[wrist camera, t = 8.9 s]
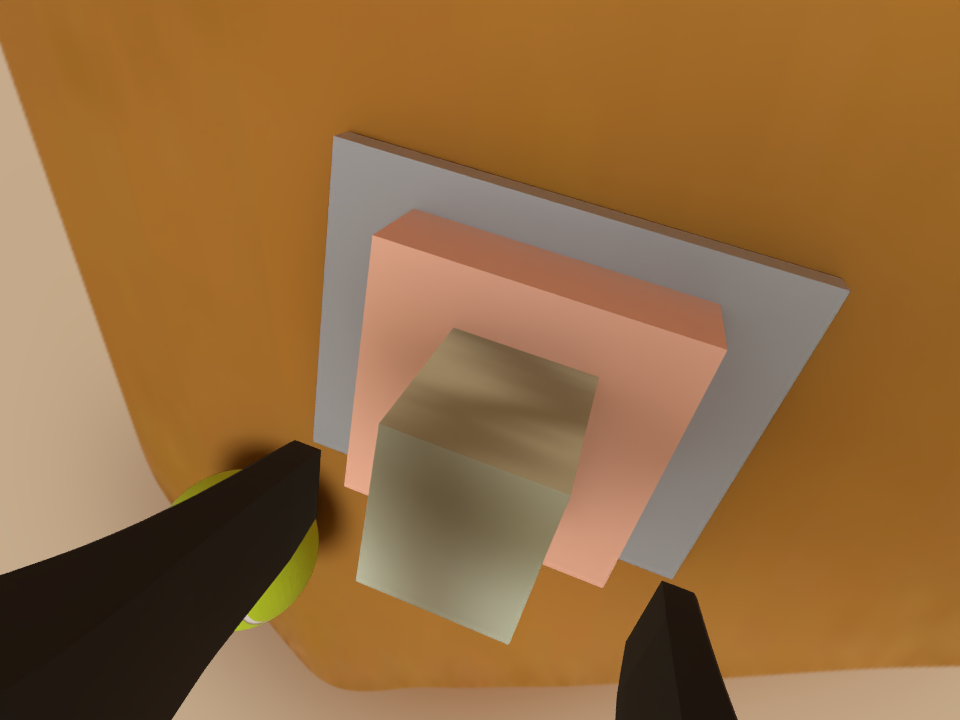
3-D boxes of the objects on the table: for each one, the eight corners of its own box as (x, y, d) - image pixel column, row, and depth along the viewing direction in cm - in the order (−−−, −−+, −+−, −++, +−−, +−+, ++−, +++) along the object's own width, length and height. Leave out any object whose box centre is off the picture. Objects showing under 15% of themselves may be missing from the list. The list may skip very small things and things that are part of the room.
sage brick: (598, 377, 16) (570, 495, 12) (545, 512, 19) (508, 644, 15) (453, 327, 17) (378, 423, 13) (423, 465, 20) (355, 580, 16)
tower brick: (720, 304, 17) (727, 349, 15) (611, 526, 23) (603, 588, 20) (413, 208, 19) (372, 235, 16) (379, 439, 24) (344, 486, 21)
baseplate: (841, 278, 17) (850, 290, 16) (672, 560, 24) (671, 579, 23) (348, 131, 19) (333, 135, 18) (324, 428, 26) (312, 441, 25)
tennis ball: (337, 455, 27) (241, 572, 21) (352, 560, 30) (273, 686, 24) (210, 428, 28) (89, 529, 23) (238, 530, 32) (139, 641, 26)
